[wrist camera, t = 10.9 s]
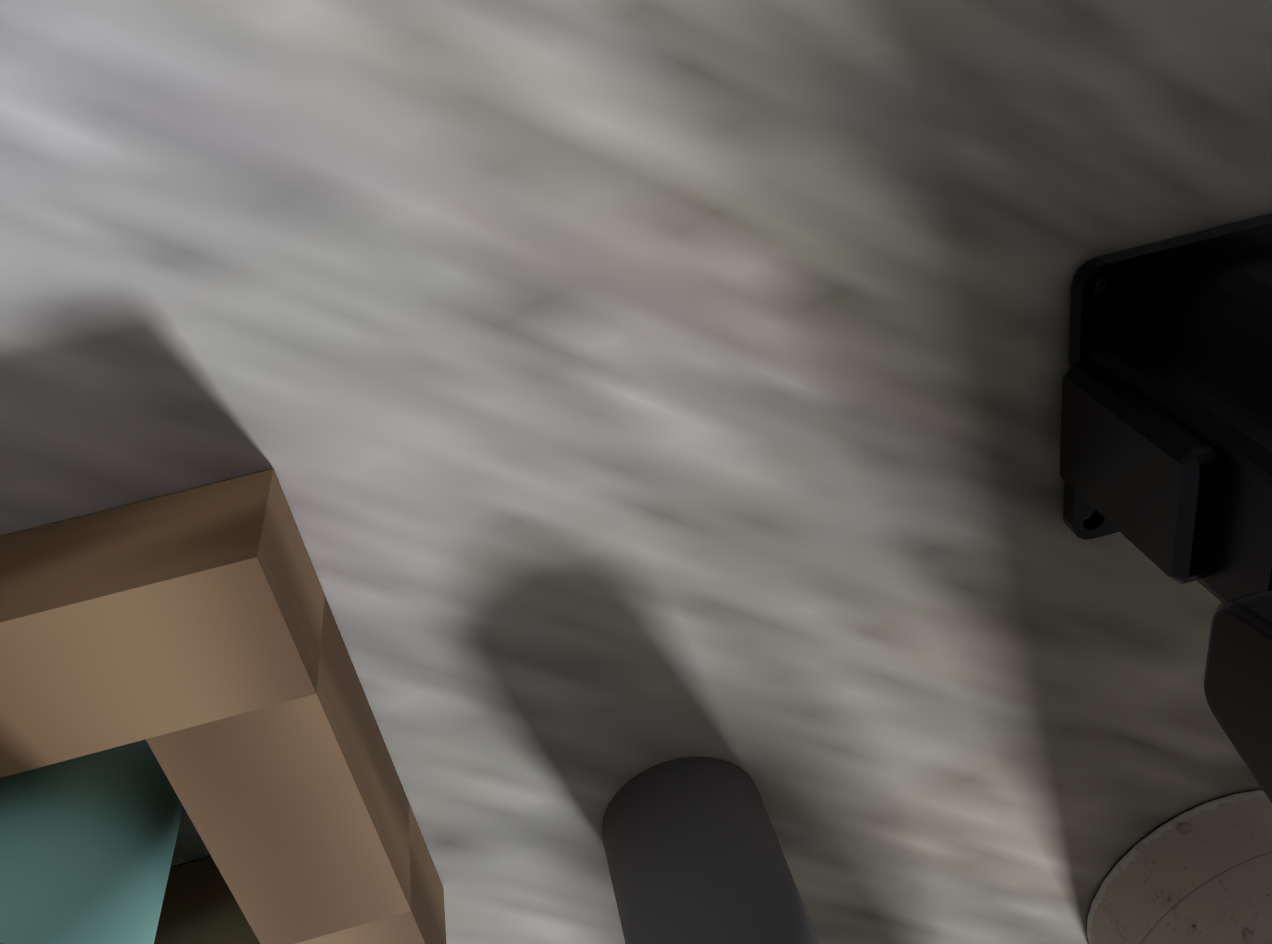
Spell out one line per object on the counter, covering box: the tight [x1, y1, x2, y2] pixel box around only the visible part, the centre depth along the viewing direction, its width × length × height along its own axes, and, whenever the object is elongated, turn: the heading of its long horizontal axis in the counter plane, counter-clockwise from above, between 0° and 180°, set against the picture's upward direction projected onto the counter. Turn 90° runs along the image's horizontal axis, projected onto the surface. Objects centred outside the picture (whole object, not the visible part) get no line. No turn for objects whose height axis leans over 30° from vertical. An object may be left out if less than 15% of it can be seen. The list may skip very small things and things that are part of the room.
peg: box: [0, 739, 183, 944], centre depth 20 cm, size 4×4×6 cm
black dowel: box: [602, 757, 819, 944], centre depth 24 cm, size 4×4×6 cm
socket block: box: [0, 469, 446, 944], centre depth 22 cm, size 12×12×3 cm
